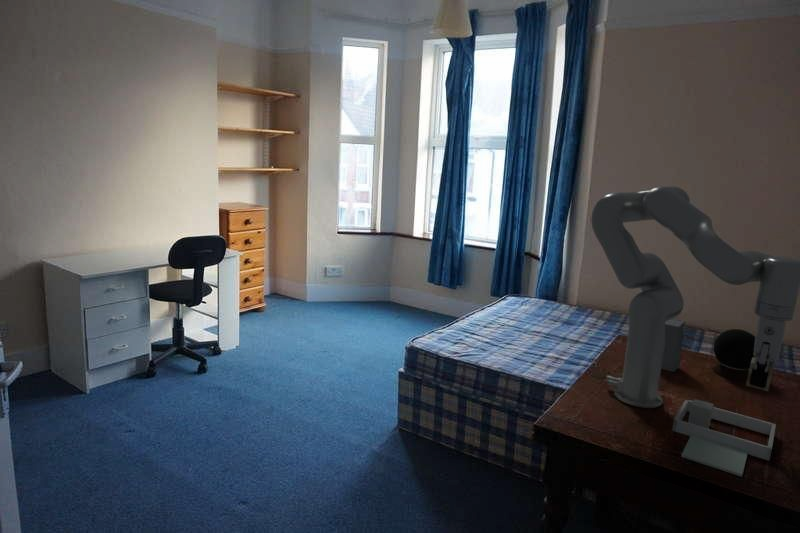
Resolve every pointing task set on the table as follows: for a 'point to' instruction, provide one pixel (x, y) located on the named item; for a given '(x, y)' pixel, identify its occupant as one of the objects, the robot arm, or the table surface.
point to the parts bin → (726, 439)
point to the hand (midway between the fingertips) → (758, 381)
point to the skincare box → (672, 345)
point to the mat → (715, 455)
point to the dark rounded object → (734, 354)
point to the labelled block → (770, 370)
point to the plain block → (700, 413)
